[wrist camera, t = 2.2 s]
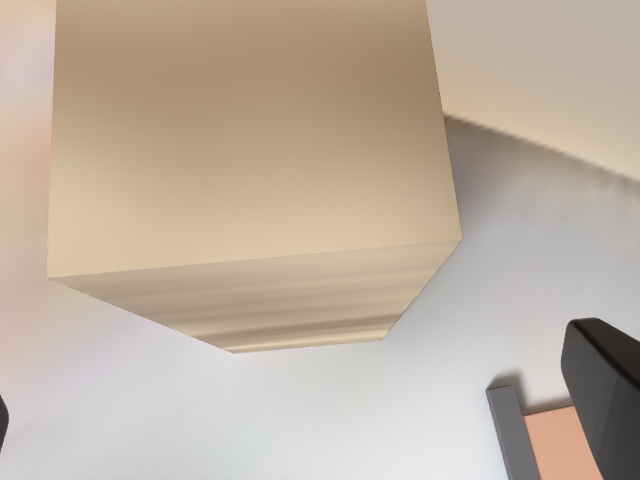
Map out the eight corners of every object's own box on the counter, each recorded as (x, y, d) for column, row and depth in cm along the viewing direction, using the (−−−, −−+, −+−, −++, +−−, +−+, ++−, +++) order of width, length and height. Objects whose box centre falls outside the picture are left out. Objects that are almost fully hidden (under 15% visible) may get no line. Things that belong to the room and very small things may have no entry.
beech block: (381, 340, 19) (462, 240, 7) (233, 353, 19) (45, 278, 7) (365, 199, 21) (408, -99, 8) (226, 212, 21) (59, -66, 8)
